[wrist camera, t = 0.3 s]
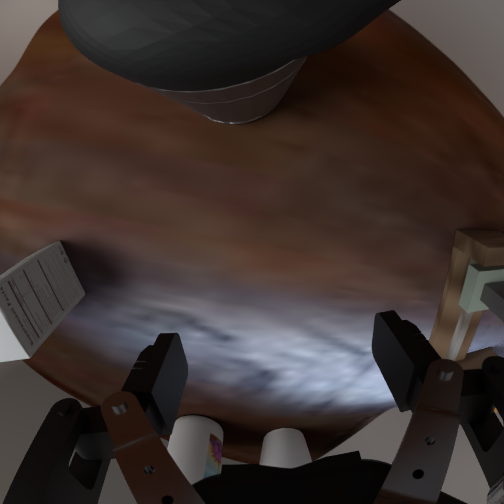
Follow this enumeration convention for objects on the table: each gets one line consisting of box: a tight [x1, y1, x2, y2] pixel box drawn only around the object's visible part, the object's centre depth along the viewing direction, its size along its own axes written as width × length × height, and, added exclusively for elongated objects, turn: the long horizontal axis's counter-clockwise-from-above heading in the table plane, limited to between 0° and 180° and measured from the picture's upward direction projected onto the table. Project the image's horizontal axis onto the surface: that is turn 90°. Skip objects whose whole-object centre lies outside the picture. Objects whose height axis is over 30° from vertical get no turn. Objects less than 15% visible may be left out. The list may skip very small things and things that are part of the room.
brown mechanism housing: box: [429, 230, 504, 370], centre depth 28 cm, size 24×15×8 cm, turn 2°
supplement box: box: [0, 241, 85, 362], centre depth 24 cm, size 7×7×13 cm
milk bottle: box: [167, 415, 223, 485], centre depth 30 cm, size 8×8×20 cm
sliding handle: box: [459, 258, 504, 322], centre depth 23 cm, size 5×7×11 cm
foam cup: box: [260, 428, 312, 468], centre depth 34 cm, size 10×9×13 cm
